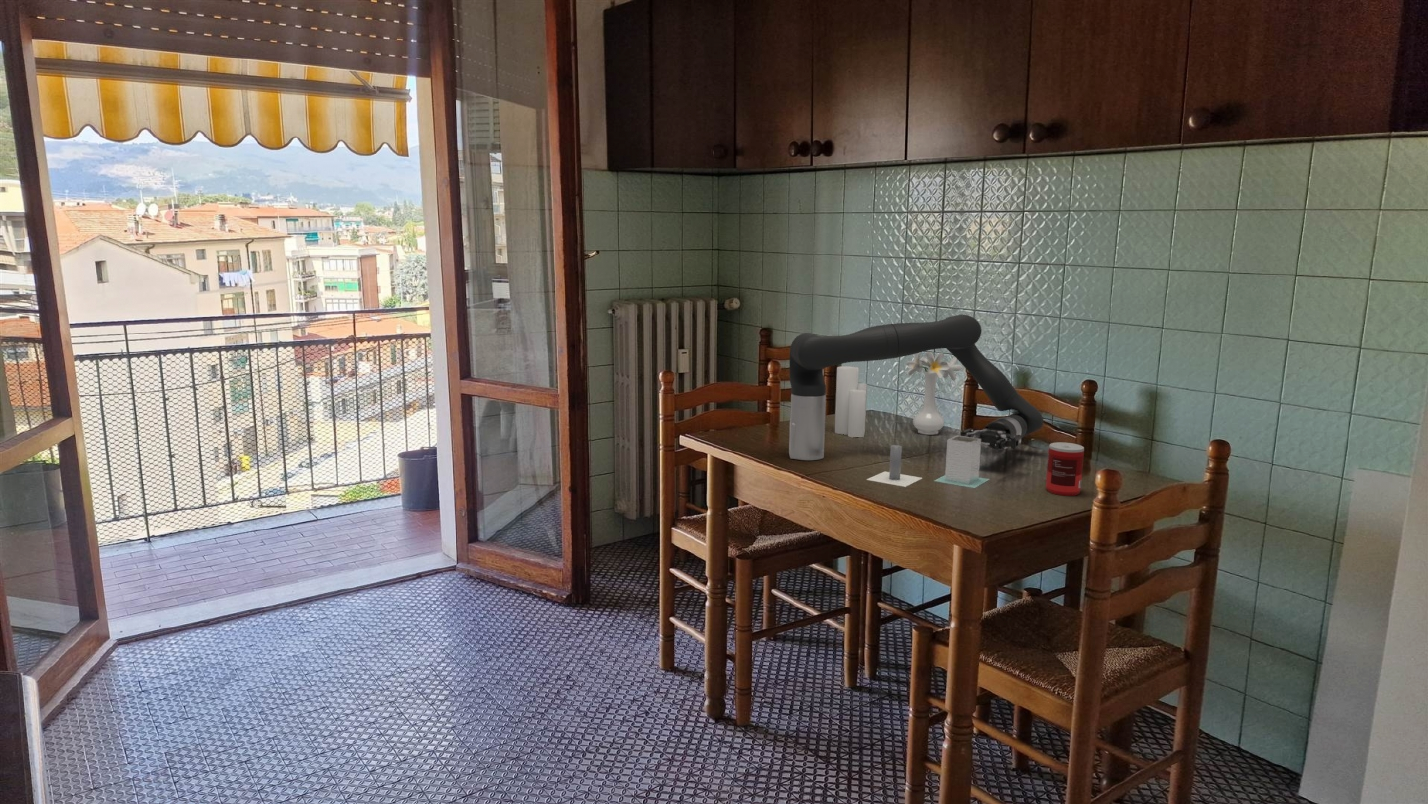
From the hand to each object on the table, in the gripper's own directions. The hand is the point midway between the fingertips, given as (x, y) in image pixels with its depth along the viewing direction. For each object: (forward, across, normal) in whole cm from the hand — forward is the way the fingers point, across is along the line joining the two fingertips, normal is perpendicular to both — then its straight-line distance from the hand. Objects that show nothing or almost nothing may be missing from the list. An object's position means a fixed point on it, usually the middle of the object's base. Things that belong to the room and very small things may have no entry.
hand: (980, 443), depth 220 cm
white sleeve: (+11, 0, +7) cm, 13 cm away
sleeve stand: (+20, -13, +8) cm, 26 cm away
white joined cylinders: (-26, -49, +9) cm, 56 cm away
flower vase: (-43, -32, +9) cm, 54 cm away
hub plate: (+11, 0, +8) cm, 14 cm away
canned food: (0, +20, +9) cm, 22 cm away
